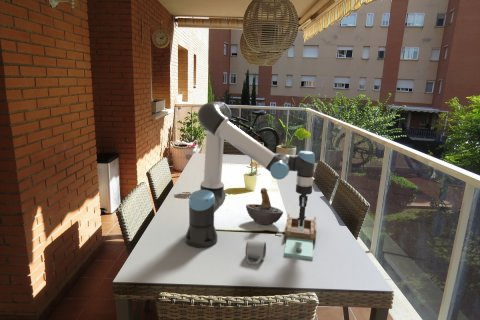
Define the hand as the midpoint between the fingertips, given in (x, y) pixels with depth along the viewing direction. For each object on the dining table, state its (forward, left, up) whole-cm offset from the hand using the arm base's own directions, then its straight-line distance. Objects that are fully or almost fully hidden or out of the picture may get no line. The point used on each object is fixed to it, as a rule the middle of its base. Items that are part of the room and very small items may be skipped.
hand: (300, 231), depth 166 cm
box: (+10, 0, -5) cm, 11 cm away
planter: (+18, +20, -6) cm, 28 cm away
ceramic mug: (-22, +18, -6) cm, 29 cm away
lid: (-8, 0, -6) cm, 10 cm away
